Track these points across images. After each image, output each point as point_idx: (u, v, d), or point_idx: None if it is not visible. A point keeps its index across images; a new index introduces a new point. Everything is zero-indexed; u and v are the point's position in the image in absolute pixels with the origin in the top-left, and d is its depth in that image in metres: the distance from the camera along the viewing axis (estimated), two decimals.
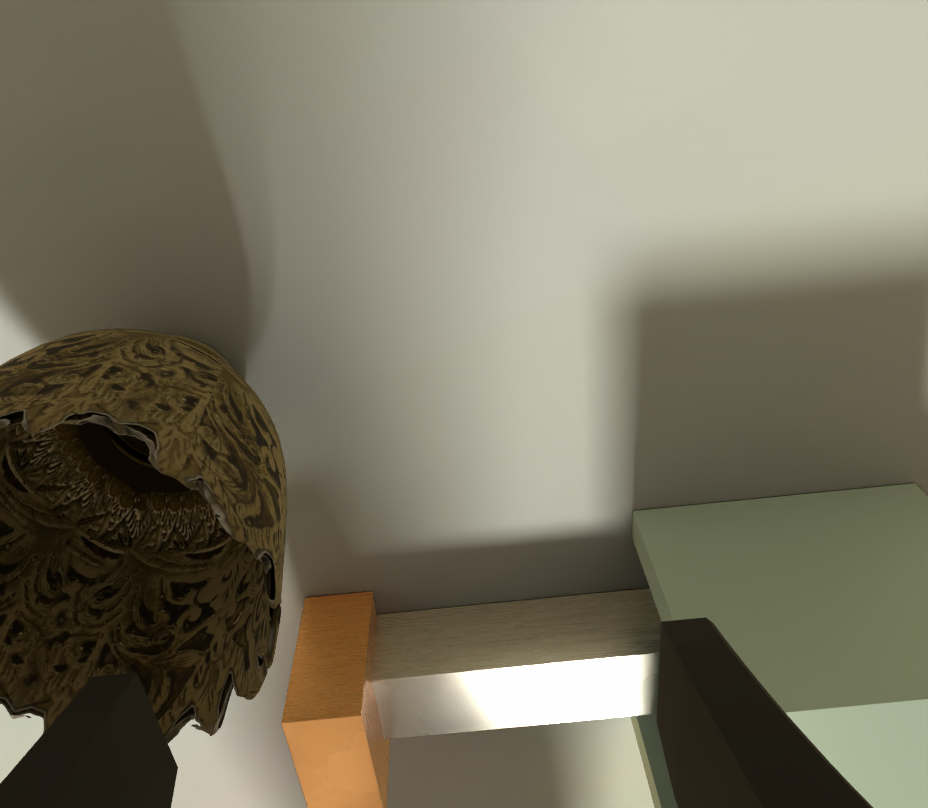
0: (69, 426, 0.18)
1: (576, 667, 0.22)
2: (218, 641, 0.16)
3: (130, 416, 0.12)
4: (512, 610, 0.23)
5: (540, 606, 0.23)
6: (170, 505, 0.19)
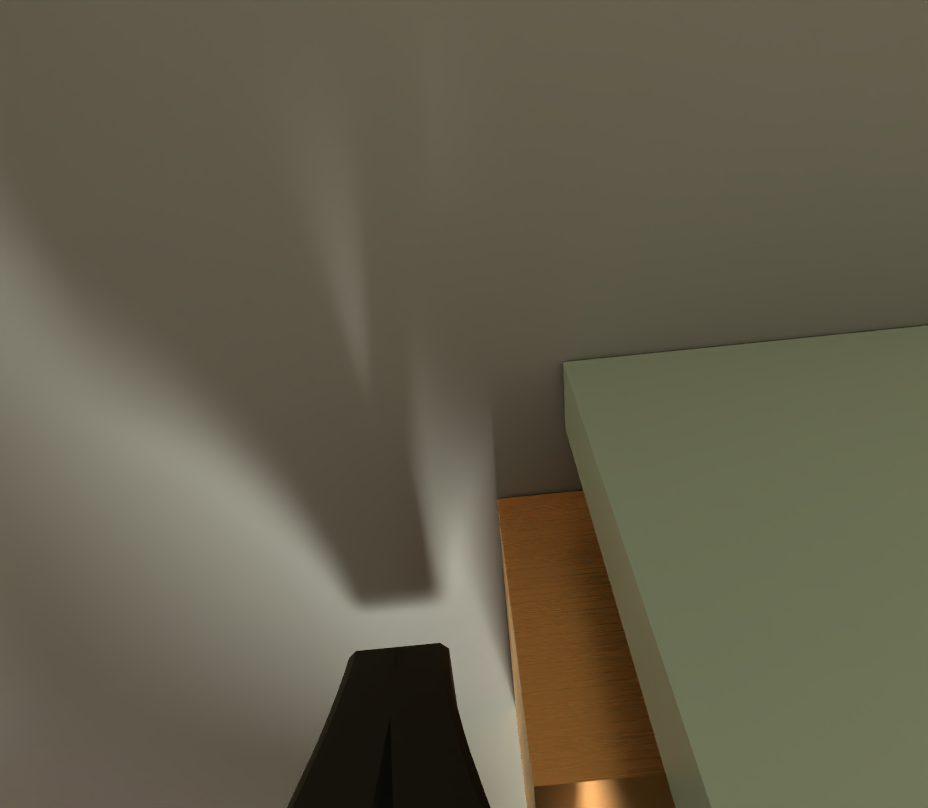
0: None
1: None
2: None
3: None
4: None
5: None
6: None
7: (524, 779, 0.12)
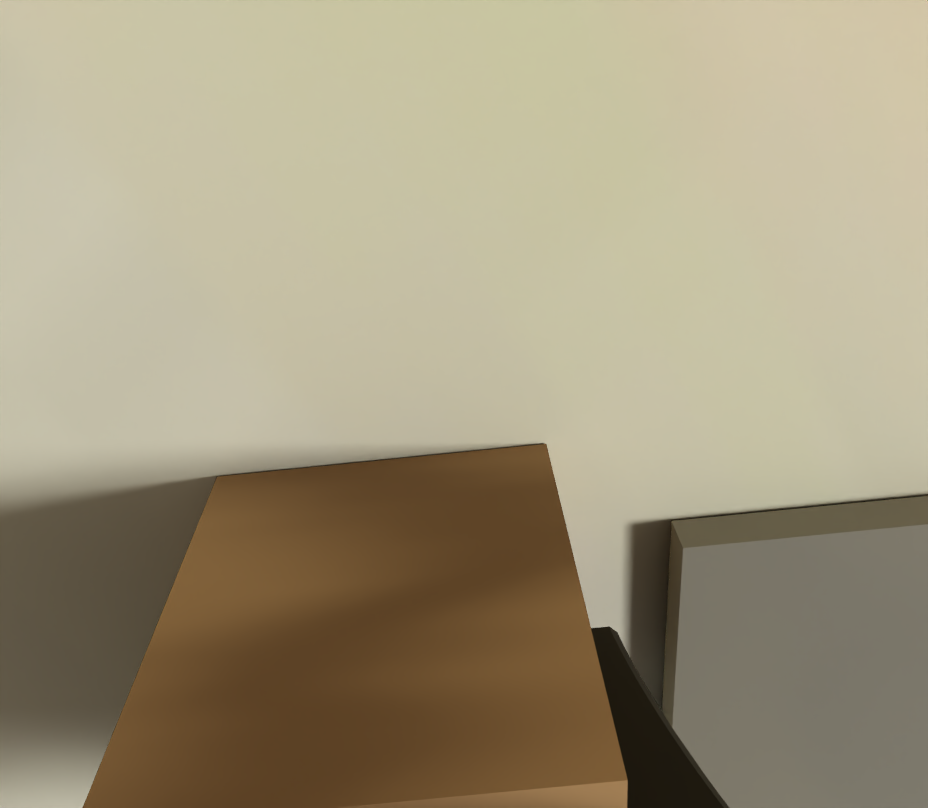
0: None
1: None
2: None
3: None
4: None
5: None
6: None
7: None
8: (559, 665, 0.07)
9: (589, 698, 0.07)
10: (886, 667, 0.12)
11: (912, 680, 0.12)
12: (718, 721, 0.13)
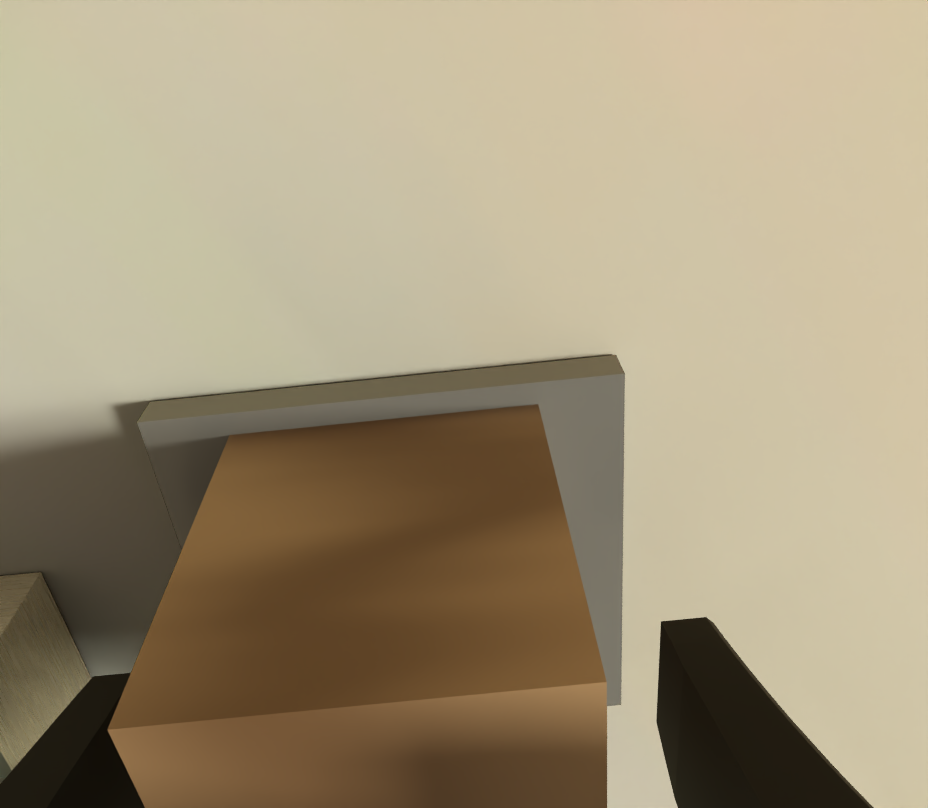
0: None
1: None
2: None
3: None
4: None
5: None
6: None
7: None
8: (545, 589, 0.08)
9: (574, 616, 0.08)
10: None
11: None
12: None
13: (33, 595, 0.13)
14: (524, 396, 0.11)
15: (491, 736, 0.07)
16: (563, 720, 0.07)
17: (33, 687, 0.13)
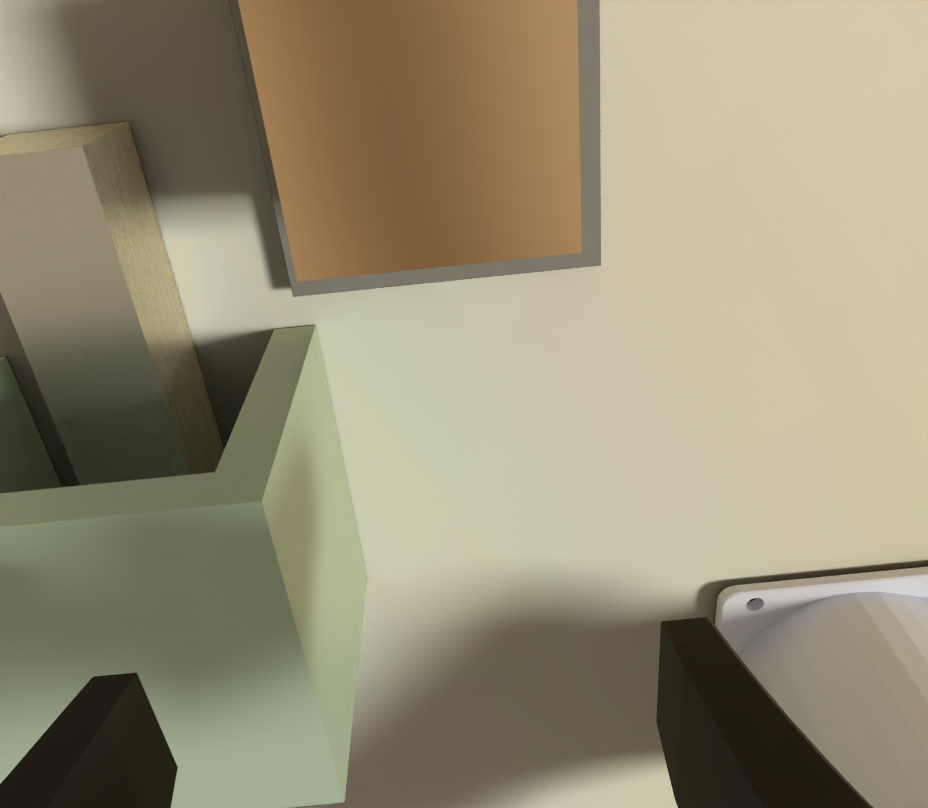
0: None
1: (77, 451, 0.17)
2: None
3: None
4: None
5: None
6: None
7: None
8: None
9: None
10: None
11: None
12: None
13: (123, 132, 0.16)
14: None
15: None
16: None
17: (125, 199, 0.16)
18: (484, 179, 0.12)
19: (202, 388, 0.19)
